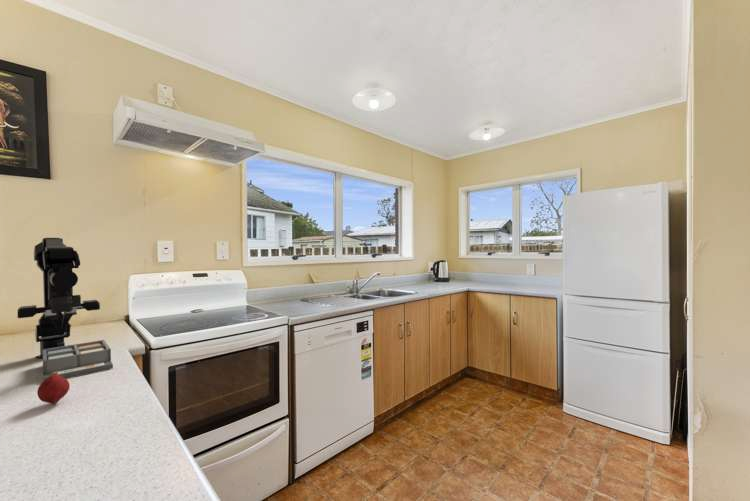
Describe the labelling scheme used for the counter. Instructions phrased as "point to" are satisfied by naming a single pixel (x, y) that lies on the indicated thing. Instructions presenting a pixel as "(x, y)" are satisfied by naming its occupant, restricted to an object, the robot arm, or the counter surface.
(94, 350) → the sand key
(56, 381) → the onion
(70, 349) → the slate key
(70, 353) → the sage key
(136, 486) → the counter surface
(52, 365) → the grey compartment tray
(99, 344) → the terracotta key
